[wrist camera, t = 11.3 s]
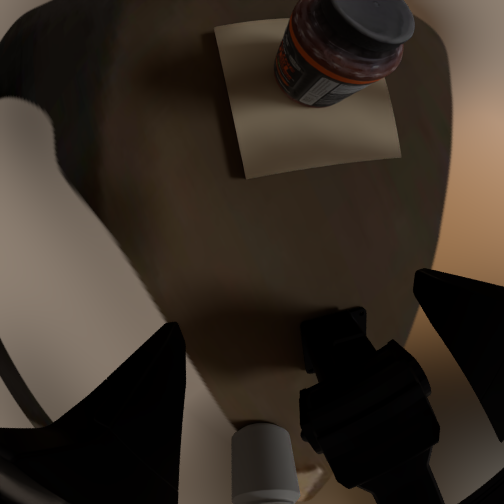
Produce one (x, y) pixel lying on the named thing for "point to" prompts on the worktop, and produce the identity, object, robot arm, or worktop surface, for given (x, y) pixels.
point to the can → (263, 466)
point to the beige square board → (296, 110)
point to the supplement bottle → (340, 48)
